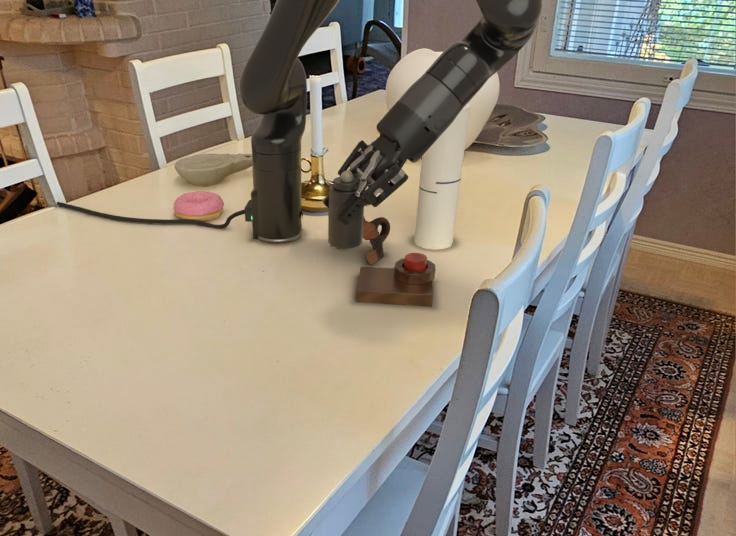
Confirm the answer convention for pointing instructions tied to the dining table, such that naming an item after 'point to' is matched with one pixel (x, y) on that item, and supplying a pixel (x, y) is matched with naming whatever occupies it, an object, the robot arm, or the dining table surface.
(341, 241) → the pepper mill
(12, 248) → the dining table surface
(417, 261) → the button
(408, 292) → the button box
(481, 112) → the vase
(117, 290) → the dining table surface
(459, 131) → the cylindrical container
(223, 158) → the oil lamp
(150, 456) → the dining table surface
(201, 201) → the doughnut
